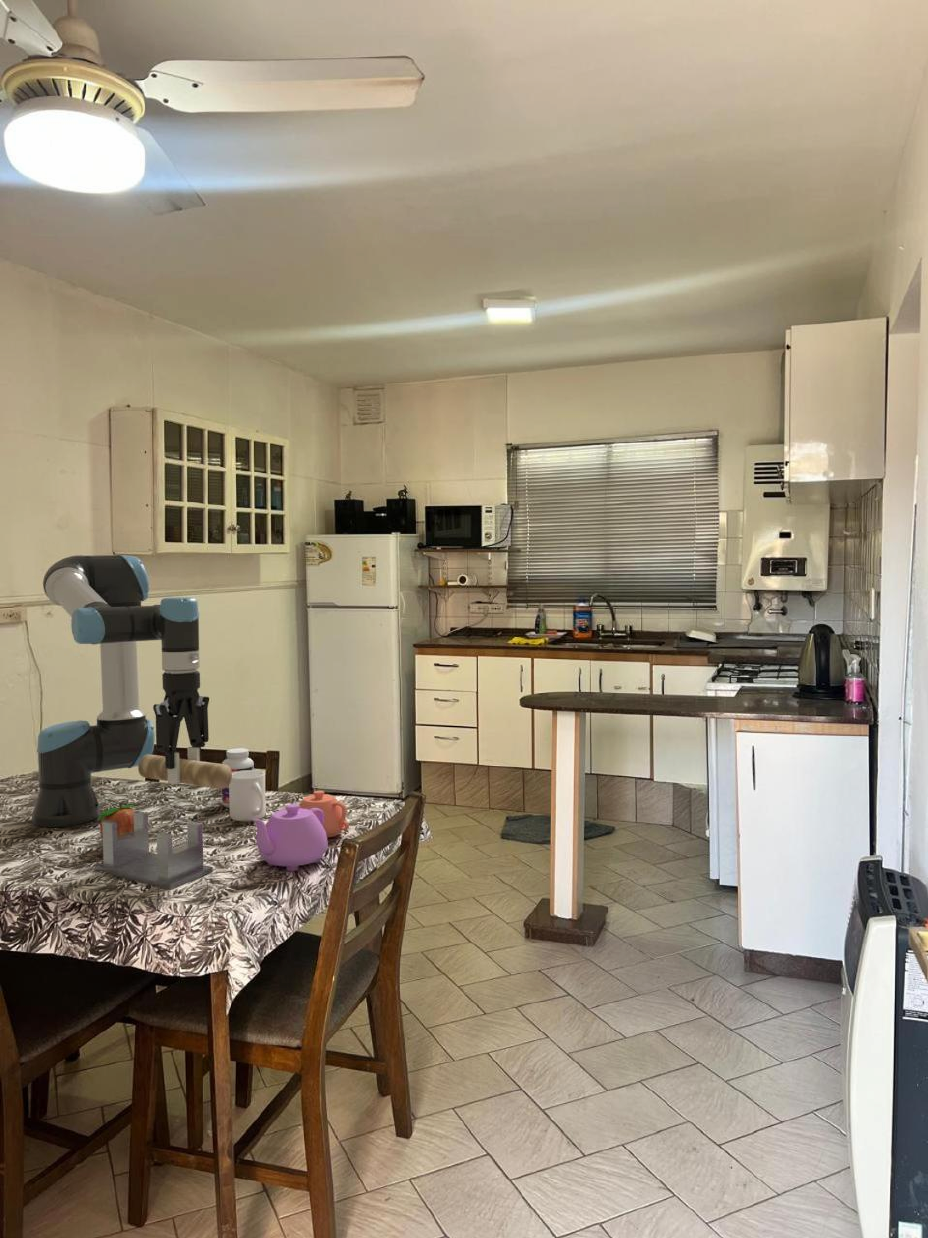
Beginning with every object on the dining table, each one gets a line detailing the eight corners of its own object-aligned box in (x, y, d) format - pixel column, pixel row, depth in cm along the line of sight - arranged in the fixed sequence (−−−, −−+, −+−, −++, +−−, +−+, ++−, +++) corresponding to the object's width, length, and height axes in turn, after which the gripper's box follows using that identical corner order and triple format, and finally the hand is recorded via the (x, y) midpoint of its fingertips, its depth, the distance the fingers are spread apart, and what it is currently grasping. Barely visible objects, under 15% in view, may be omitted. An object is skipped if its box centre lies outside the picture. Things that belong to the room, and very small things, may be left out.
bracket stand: (94, 870, 177) (93, 822, 177) (138, 854, 187) (137, 808, 186) (169, 889, 166) (168, 838, 166) (212, 872, 176) (211, 823, 175)
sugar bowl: (313, 824, 208) (312, 782, 207) (363, 832, 202) (362, 789, 201) (281, 839, 197) (280, 795, 196) (332, 847, 191) (331, 802, 190)
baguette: (136, 778, 186) (139, 754, 186) (155, 777, 190) (157, 754, 191) (213, 789, 176) (216, 764, 176) (230, 788, 180) (233, 764, 180)
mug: (245, 827, 206) (244, 783, 205) (223, 816, 215) (222, 773, 214) (278, 820, 211) (277, 777, 210) (255, 810, 220) (254, 768, 220)
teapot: (276, 885, 168) (275, 824, 168) (229, 870, 177) (228, 811, 176) (348, 857, 184) (347, 801, 184) (302, 844, 193) (301, 790, 192)
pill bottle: (221, 810, 220) (220, 754, 219) (222, 802, 227) (221, 748, 226) (254, 808, 221) (253, 752, 221) (254, 800, 229) (253, 746, 228)
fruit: (150, 846, 192) (149, 802, 192) (108, 857, 185) (106, 811, 185) (133, 838, 198) (132, 794, 198) (91, 847, 192) (90, 803, 191)
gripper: (160, 677, 172) (163, 792, 174) (225, 667, 188) (227, 773, 189) (134, 675, 176) (137, 788, 177) (199, 665, 191) (202, 769, 193)
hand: (184, 780), depth 183 cm, fingers closed on baguette, 5 cm apart
